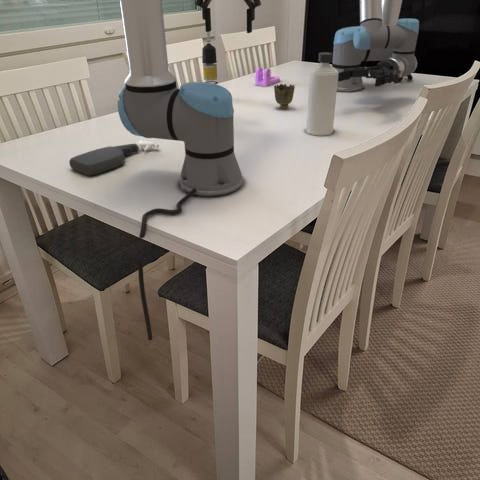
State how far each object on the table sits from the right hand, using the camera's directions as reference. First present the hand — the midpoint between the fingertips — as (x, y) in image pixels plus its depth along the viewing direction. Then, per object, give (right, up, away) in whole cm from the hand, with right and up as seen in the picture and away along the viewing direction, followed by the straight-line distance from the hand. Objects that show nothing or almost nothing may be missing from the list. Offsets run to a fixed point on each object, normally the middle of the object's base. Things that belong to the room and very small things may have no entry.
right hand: (357, 79), depth 144 cm
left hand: (-42, +13, -6) cm, 44 cm away
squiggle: (+34, +20, +56) cm, 69 cm away
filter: (-49, +5, +35) cm, 61 cm away
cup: (-22, -3, +21) cm, 30 cm away
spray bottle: (-72, -29, -19) cm, 80 cm away
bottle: (-13, -17, -1) cm, 21 cm away
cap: (-13, +2, -14) cm, 19 cm away
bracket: (-25, +19, +56) cm, 64 cm away
